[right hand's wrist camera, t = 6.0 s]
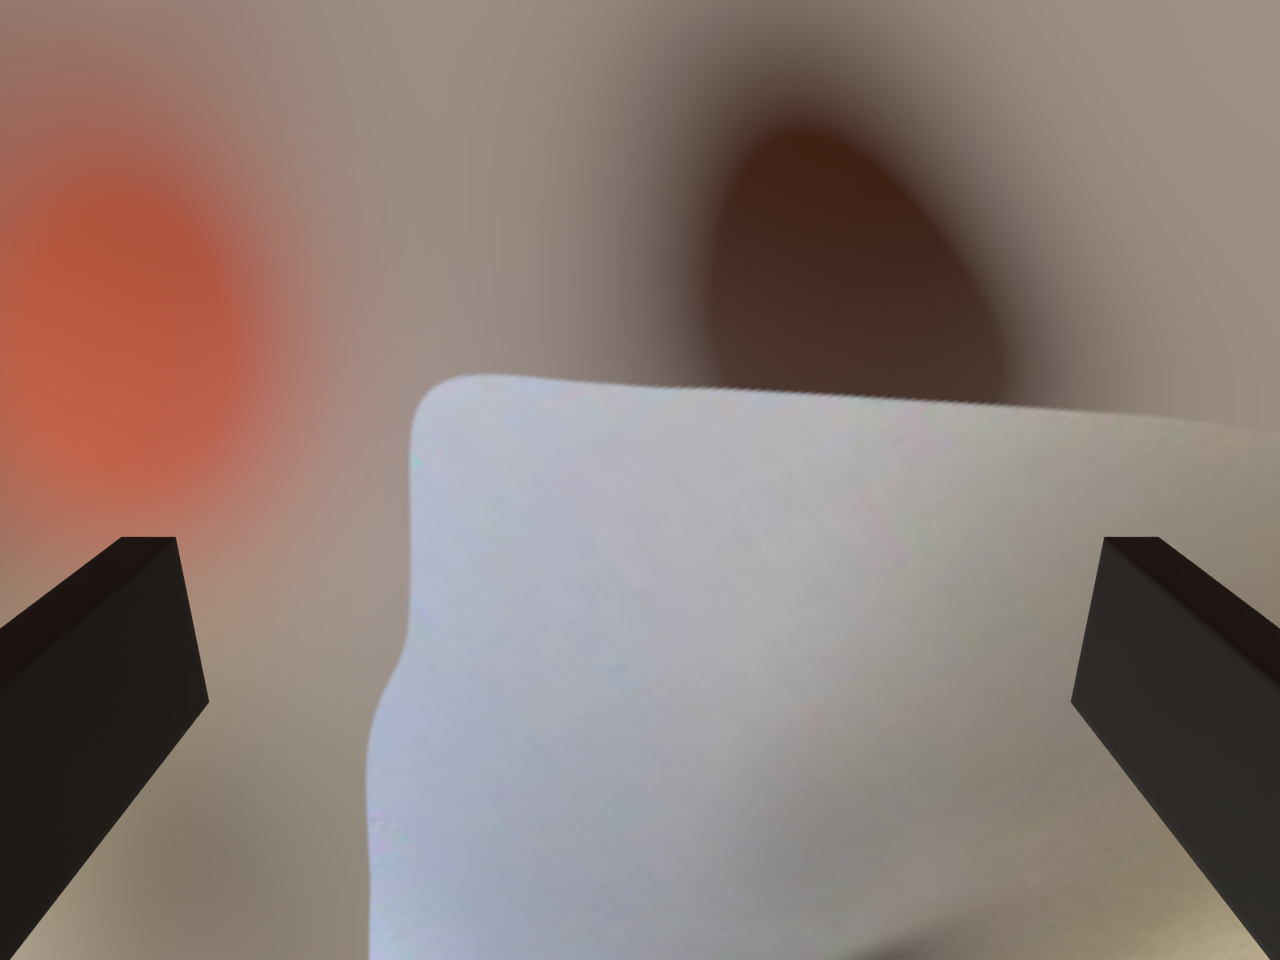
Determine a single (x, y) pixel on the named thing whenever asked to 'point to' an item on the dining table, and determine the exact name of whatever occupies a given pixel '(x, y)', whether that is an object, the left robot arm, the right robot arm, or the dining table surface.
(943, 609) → the dining table surface
